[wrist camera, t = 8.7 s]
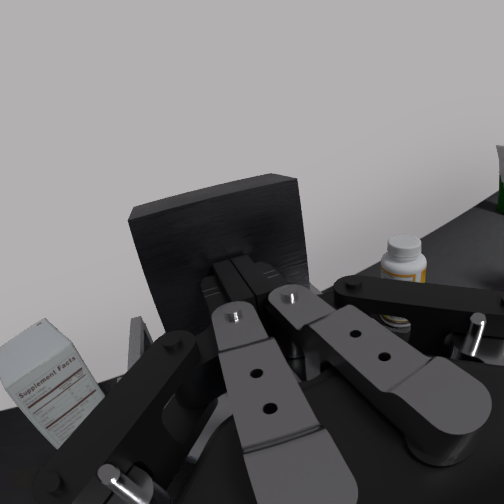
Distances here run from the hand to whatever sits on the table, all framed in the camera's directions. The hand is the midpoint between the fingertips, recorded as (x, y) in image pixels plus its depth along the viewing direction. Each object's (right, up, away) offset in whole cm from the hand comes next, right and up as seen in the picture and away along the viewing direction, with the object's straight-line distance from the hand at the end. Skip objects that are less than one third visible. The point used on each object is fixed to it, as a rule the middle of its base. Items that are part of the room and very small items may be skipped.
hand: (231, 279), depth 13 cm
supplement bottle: (+20, -7, +21) cm, 30 cm away
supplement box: (-15, -18, +10) cm, 26 cm away
